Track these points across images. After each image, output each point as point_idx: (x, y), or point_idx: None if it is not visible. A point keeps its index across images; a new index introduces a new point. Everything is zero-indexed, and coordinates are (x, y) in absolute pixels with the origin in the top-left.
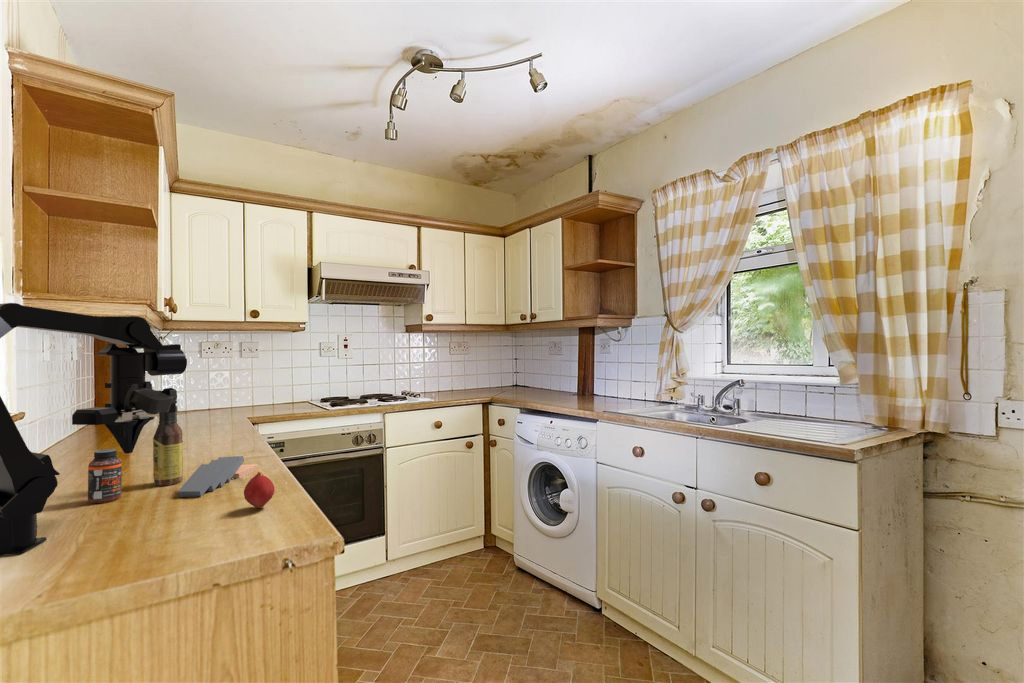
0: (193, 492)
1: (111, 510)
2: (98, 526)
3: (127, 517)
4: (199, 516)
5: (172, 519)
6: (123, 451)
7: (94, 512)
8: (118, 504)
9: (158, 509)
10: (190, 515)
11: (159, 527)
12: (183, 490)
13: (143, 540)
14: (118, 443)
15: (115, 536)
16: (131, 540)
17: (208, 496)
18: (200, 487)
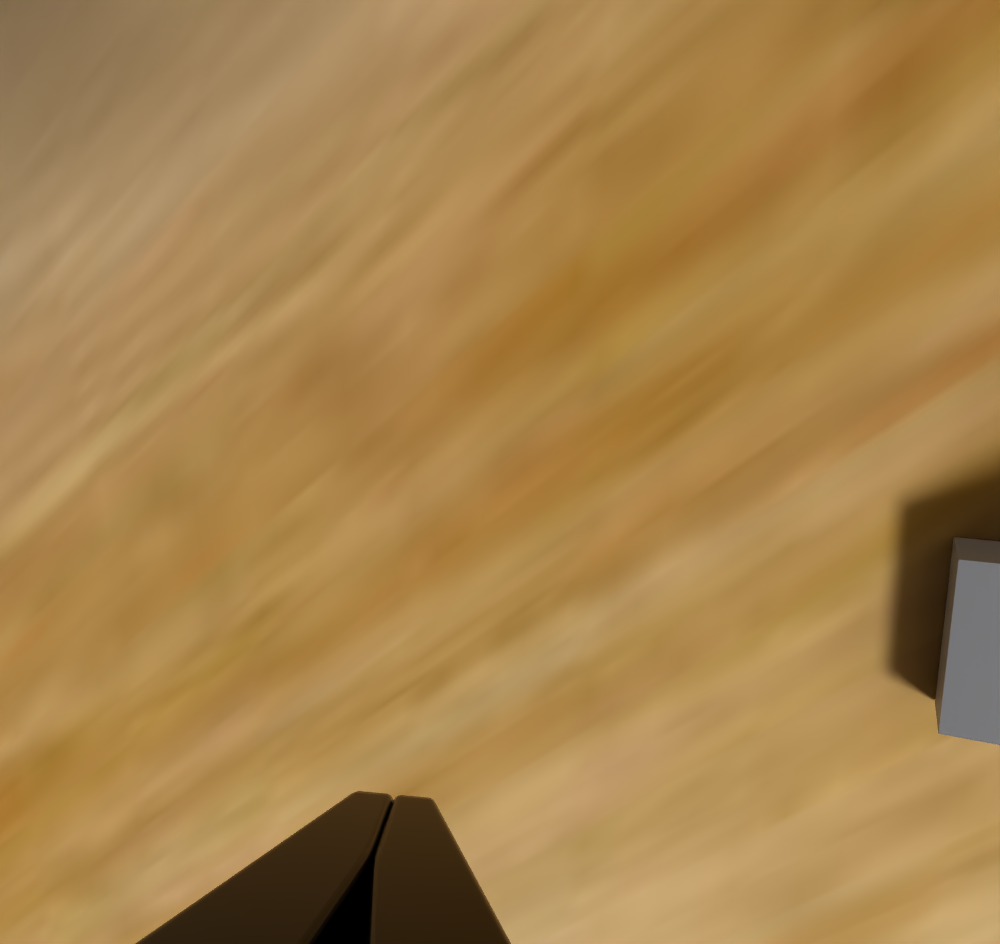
0: (942, 678)
1: (622, 209)
2: (258, 423)
3: (451, 484)
4: None
5: None
6: (336, 806)
7: (572, 91)
8: (796, 128)
9: (632, 581)
10: (498, 865)
11: (278, 821)
12: (968, 603)
13: (81, 866)
14: (219, 888)
15: (110, 678)
16: (70, 807)
17: (940, 744)
18: (998, 726)
